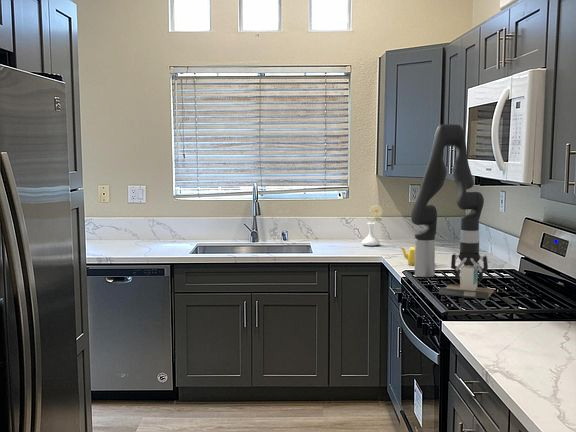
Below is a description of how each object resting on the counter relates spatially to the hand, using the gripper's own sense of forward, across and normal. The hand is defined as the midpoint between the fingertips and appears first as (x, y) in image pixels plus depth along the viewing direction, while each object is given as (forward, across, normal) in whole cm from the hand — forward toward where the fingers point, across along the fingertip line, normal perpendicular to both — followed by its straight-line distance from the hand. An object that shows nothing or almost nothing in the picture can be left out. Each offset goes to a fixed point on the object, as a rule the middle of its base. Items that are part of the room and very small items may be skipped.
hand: (469, 280), depth 254 cm
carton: (+4, 0, 0) cm, 4 cm away
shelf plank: (+6, 0, +2) cm, 6 cm away
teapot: (+6, +36, -56) cm, 67 cm away
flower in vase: (+5, +77, -103) cm, 128 cm away
